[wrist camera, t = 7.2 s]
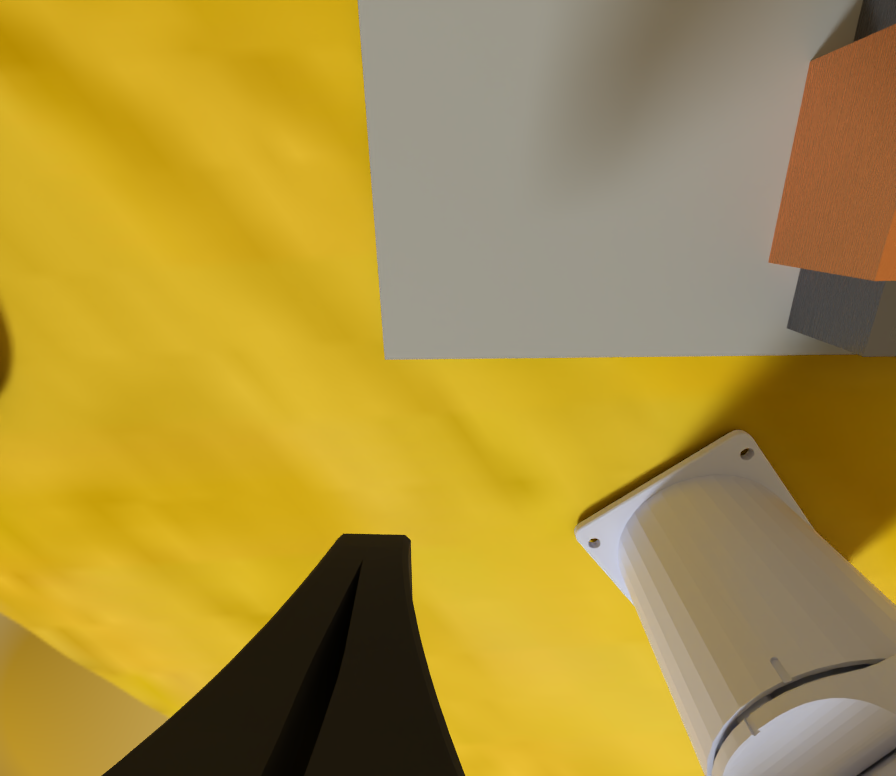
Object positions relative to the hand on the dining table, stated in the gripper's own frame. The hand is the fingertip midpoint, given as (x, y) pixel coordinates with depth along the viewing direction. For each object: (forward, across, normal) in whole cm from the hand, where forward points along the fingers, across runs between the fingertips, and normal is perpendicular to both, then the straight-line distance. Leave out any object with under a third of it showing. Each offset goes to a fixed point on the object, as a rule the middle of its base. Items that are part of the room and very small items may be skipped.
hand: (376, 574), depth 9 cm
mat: (+10, -10, -8) cm, 16 cm away
